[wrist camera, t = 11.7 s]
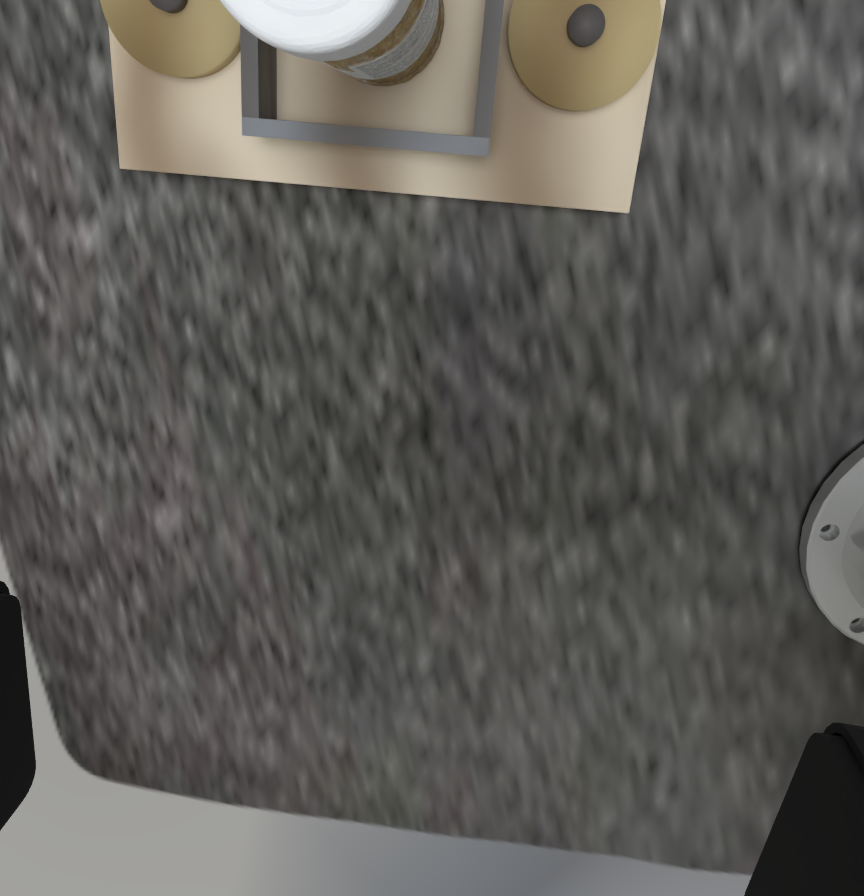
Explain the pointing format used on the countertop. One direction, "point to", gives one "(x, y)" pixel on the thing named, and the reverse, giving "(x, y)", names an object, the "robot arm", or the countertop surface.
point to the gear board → (397, 103)
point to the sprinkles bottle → (350, 33)
